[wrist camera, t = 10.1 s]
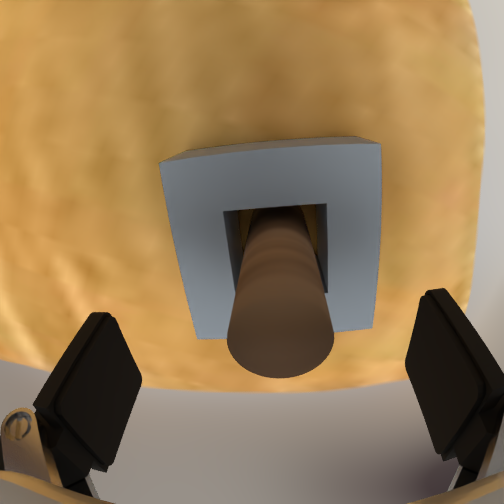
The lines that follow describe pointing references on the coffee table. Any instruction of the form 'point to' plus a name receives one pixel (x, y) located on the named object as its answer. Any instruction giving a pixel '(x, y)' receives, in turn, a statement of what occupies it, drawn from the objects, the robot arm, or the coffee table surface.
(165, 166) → the socket block
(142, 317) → the coffee table surface
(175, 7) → the coffee table surface
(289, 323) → the peg
